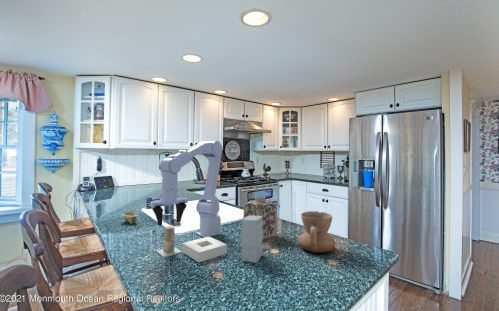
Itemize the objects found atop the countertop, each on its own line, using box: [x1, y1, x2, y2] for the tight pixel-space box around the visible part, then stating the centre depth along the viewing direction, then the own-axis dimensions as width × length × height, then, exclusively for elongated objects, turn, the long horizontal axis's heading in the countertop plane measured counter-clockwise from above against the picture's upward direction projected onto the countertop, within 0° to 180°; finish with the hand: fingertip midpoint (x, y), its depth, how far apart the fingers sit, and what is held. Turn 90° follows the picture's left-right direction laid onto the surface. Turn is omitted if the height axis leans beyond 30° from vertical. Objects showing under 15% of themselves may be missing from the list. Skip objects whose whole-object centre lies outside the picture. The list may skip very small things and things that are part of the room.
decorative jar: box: [242, 196, 278, 241], centre depth 116 cm, size 12×12×18 cm
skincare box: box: [241, 215, 264, 264], centre depth 90 cm, size 8×6×15 cm
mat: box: [155, 246, 183, 258], centre depth 94 cm, size 7×7×1 cm
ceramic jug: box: [297, 210, 336, 254], centre depth 99 cm, size 18×14×14 cm
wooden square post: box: [162, 225, 176, 253], centre depth 94 cm, size 3×3×9 cm
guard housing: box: [181, 236, 227, 263], centre depth 94 cm, size 12×12×4 cm
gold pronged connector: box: [121, 210, 140, 225], centre depth 133 cm, size 12×18×7 cm, turn 68°
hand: (169, 223), depth 96 cm, fingers open, 7 cm apart
